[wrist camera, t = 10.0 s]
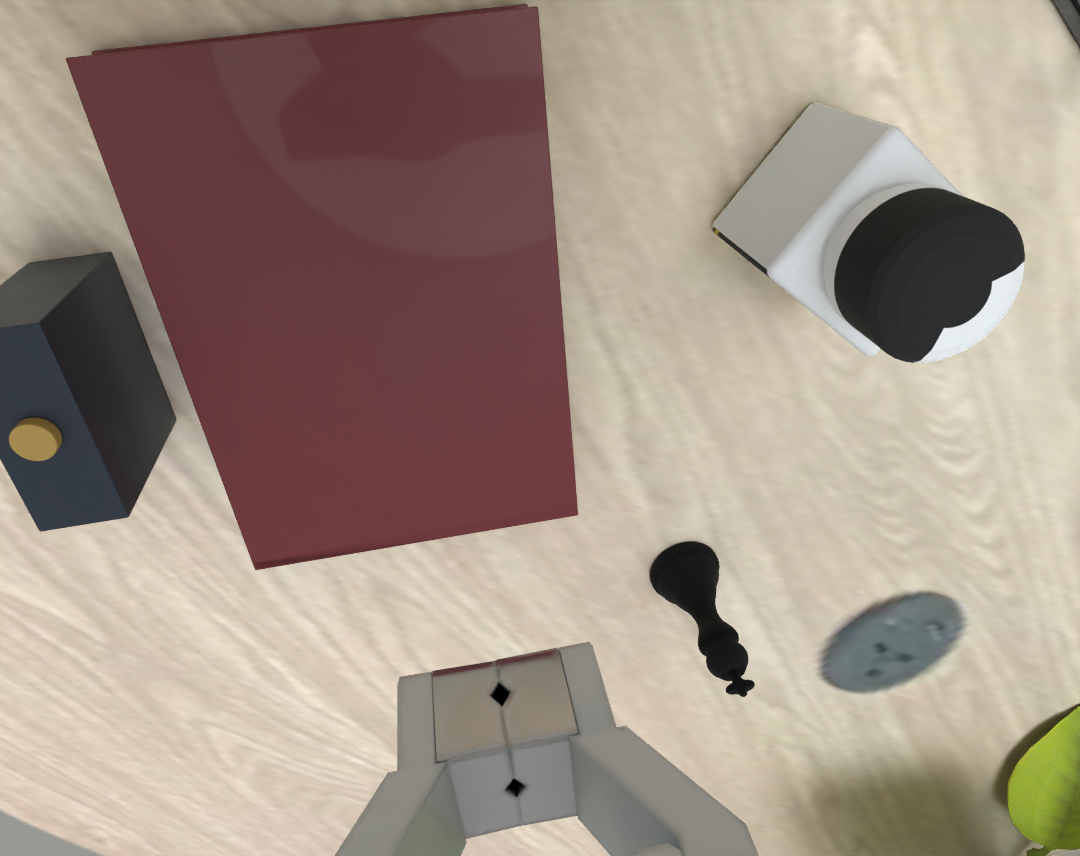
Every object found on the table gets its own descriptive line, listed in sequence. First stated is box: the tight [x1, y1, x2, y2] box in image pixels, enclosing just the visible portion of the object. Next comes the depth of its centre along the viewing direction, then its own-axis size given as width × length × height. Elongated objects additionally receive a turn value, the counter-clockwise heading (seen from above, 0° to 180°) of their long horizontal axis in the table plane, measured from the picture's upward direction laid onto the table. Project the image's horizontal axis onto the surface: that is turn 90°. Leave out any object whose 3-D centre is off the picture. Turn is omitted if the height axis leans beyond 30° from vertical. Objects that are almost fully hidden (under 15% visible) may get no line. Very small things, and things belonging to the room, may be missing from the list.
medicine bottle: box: [712, 103, 1025, 363], centre depth 33 cm, size 7×7×12 cm
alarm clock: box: [0, 253, 176, 531], centre depth 32 cm, size 9×7×8 cm
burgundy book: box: [66, 4, 578, 570], centre depth 36 cm, size 24×17×3 cm
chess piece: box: [650, 542, 755, 697], centre depth 44 cm, size 4×4×10 cm
